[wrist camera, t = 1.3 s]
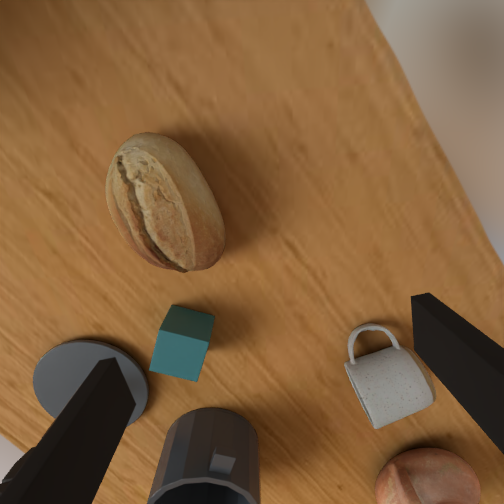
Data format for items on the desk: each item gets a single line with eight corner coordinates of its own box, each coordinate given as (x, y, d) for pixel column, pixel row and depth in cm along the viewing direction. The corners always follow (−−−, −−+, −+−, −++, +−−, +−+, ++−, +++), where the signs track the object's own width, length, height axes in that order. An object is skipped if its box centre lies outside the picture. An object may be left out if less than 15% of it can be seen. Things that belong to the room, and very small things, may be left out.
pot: (154, 478, 45) (130, 558, 36) (182, 382, 40) (162, 449, 31) (238, 495, 47) (236, 576, 38) (276, 405, 41) (284, 475, 32)
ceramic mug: (413, 373, 40) (450, 420, 32) (355, 394, 41) (379, 445, 33) (390, 309, 37) (425, 345, 30) (329, 333, 38) (348, 374, 31)
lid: (34, 412, 41) (-20, 476, 33) (44, 324, 37) (-15, 372, 29) (139, 435, 43) (113, 502, 34) (160, 352, 38) (136, 406, 30)
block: (162, 341, 38) (148, 370, 33) (171, 304, 36) (159, 329, 31) (203, 351, 38) (196, 382, 33) (214, 315, 37) (209, 342, 32)
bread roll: (175, 278, 35) (155, 311, 28) (99, 162, 31) (50, 164, 23) (246, 241, 34) (246, 266, 26) (176, 116, 30) (151, 102, 22)
